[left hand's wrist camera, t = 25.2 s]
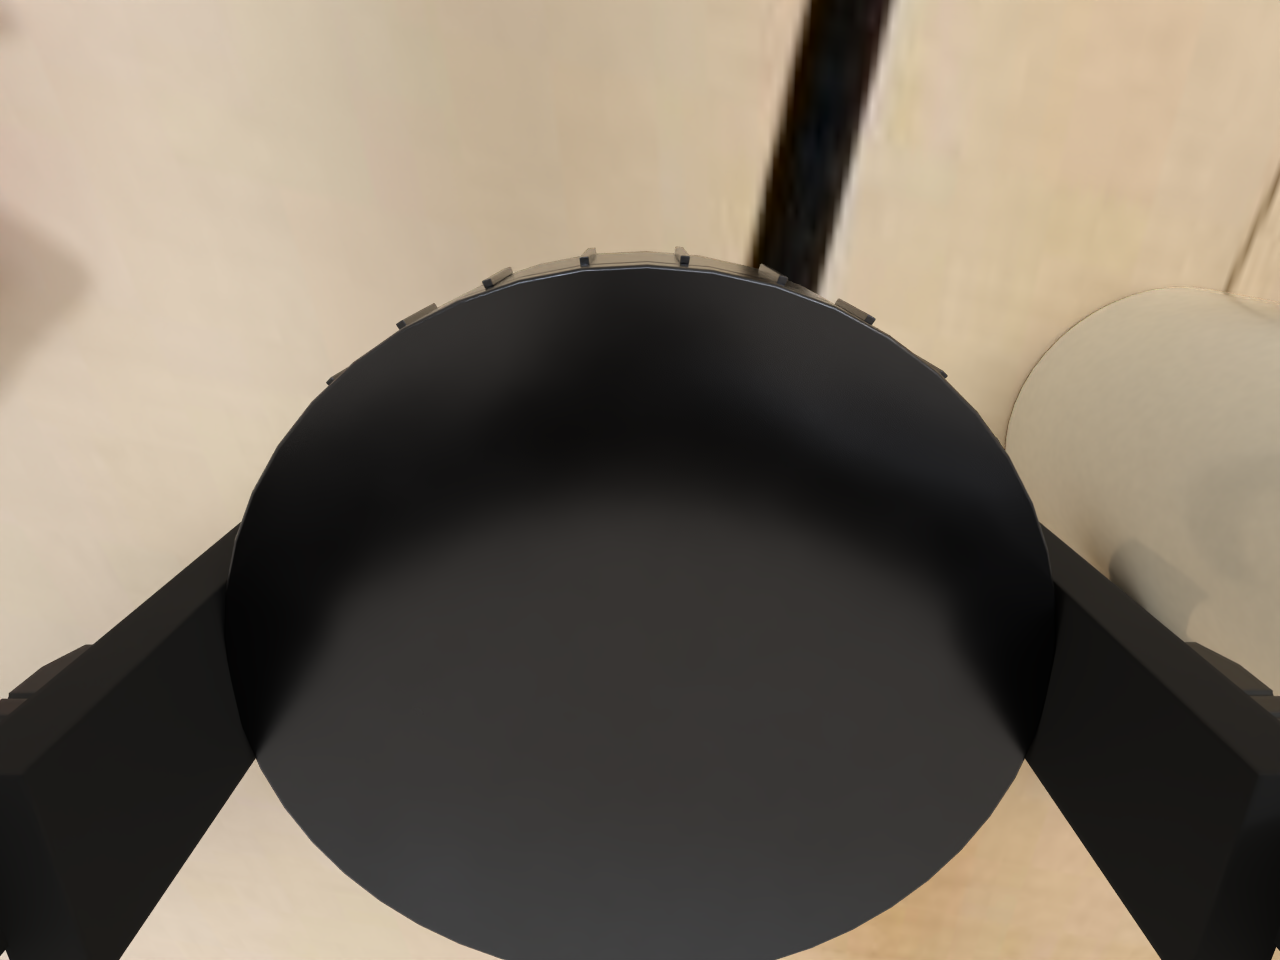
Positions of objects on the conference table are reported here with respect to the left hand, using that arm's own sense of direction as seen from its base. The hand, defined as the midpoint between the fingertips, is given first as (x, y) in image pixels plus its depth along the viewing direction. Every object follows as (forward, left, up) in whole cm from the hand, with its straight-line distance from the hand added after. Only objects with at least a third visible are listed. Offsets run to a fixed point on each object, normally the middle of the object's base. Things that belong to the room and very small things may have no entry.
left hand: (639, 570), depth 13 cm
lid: (0, 0, +3) cm, 3 cm away
